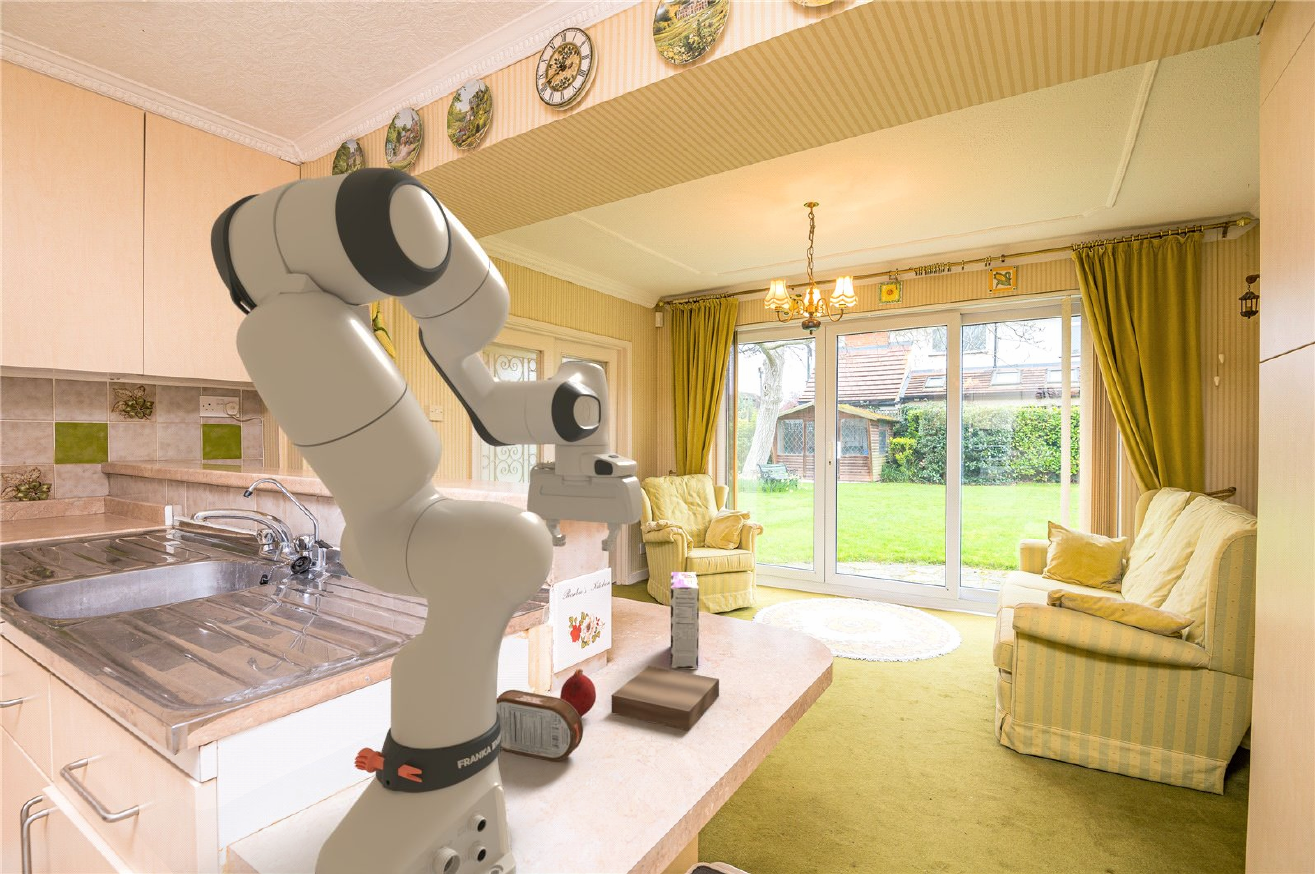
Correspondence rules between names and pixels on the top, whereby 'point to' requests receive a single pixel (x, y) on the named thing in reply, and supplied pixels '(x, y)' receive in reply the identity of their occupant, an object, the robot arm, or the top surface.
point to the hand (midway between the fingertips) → (583, 548)
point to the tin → (538, 725)
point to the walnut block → (666, 697)
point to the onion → (579, 692)
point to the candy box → (684, 619)
